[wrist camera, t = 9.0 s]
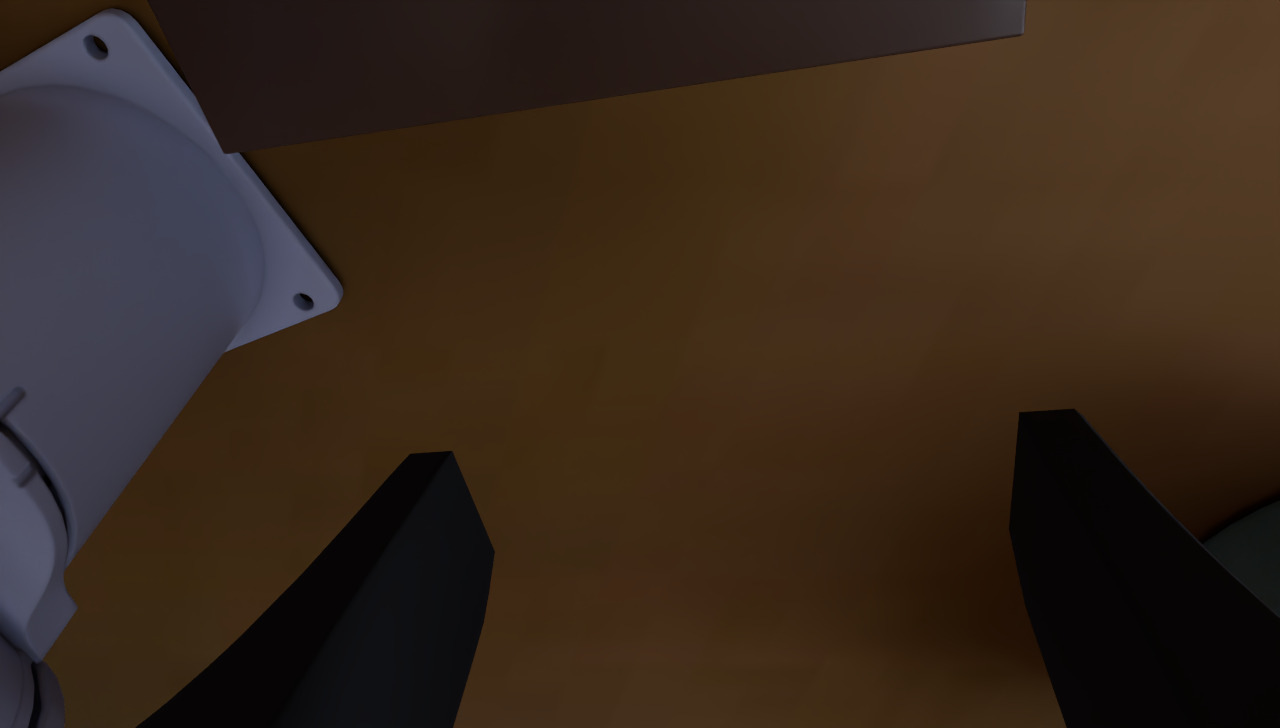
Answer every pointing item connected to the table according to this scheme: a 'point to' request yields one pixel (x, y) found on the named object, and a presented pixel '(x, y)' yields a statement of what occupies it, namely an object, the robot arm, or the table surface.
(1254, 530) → the flower pot
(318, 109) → the step shelf
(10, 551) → the robot arm
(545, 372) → the table surface
